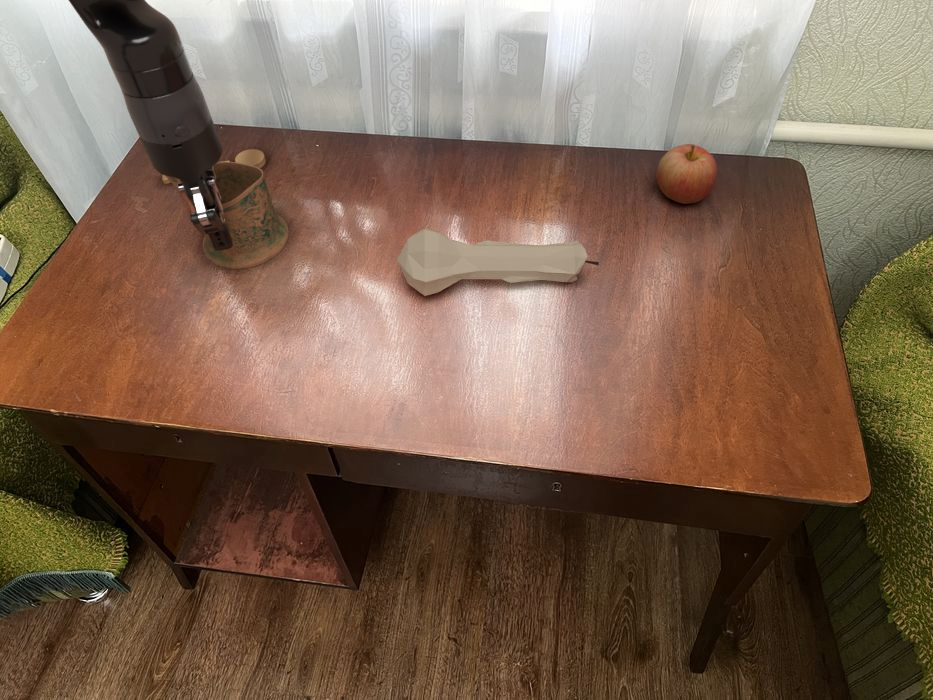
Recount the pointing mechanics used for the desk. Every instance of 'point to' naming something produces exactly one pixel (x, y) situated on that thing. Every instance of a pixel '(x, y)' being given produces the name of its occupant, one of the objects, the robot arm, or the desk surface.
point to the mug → (245, 218)
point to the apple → (687, 173)
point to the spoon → (242, 160)
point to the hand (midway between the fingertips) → (224, 245)
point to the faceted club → (485, 261)
